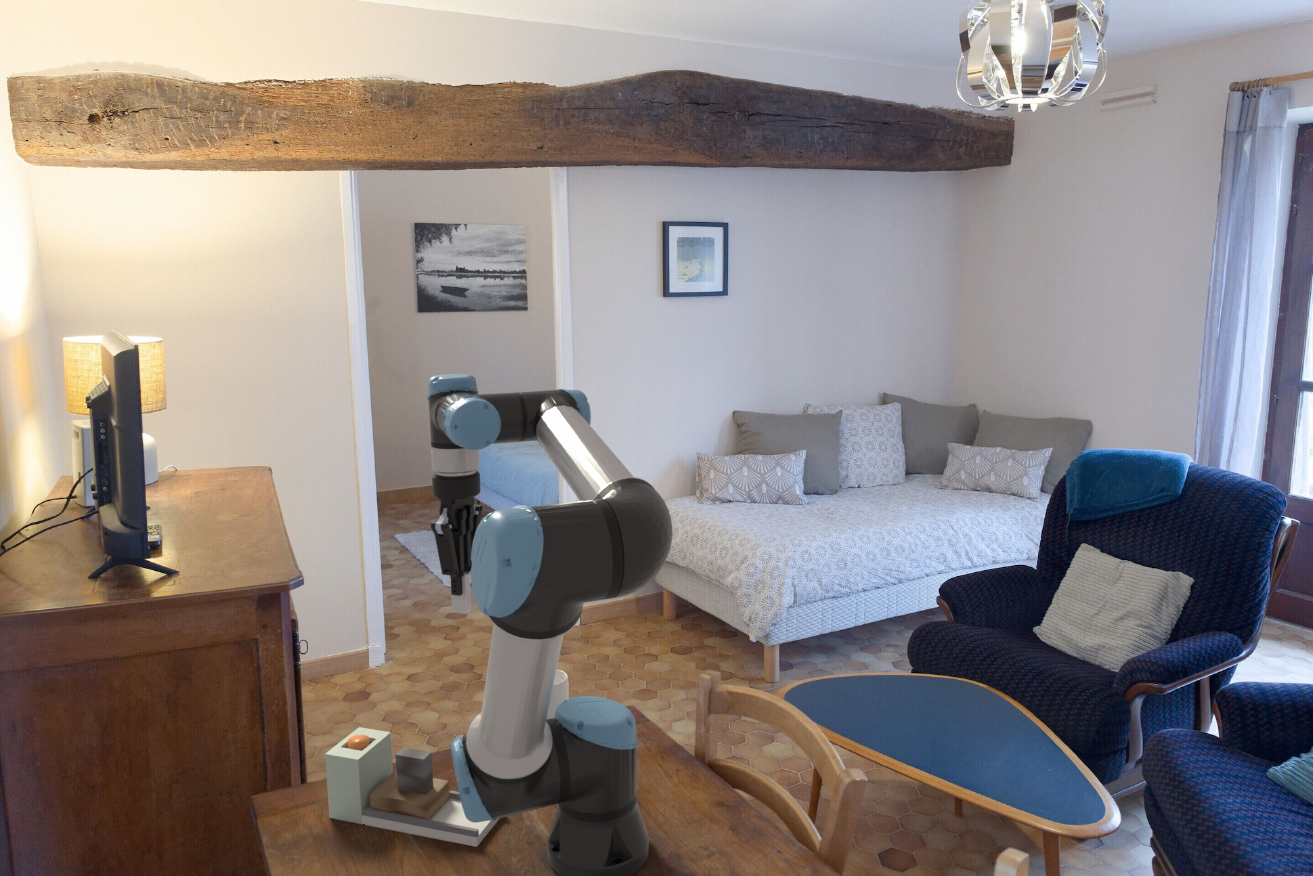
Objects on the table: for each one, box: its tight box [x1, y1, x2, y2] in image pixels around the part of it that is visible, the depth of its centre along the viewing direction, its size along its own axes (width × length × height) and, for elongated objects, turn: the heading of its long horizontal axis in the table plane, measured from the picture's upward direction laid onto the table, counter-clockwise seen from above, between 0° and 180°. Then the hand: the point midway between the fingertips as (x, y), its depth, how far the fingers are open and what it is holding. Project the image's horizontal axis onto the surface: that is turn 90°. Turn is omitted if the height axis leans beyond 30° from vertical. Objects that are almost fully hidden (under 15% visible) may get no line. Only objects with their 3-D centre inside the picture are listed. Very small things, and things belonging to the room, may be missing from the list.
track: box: [361, 789, 501, 848], centre depth 146 cm, size 20×9×2 cm, turn 73°
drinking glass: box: [547, 669, 570, 719], centre depth 164 cm, size 7×7×15 cm
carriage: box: [370, 746, 451, 820], centre depth 146 cm, size 10×7×9 cm
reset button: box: [348, 735, 369, 751], centre depth 148 cm, size 3×3×2 cm
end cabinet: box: [324, 726, 394, 825], centre depth 149 cm, size 6×9×11 cm, turn 163°
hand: (461, 611), depth 151 cm, fingers closed
